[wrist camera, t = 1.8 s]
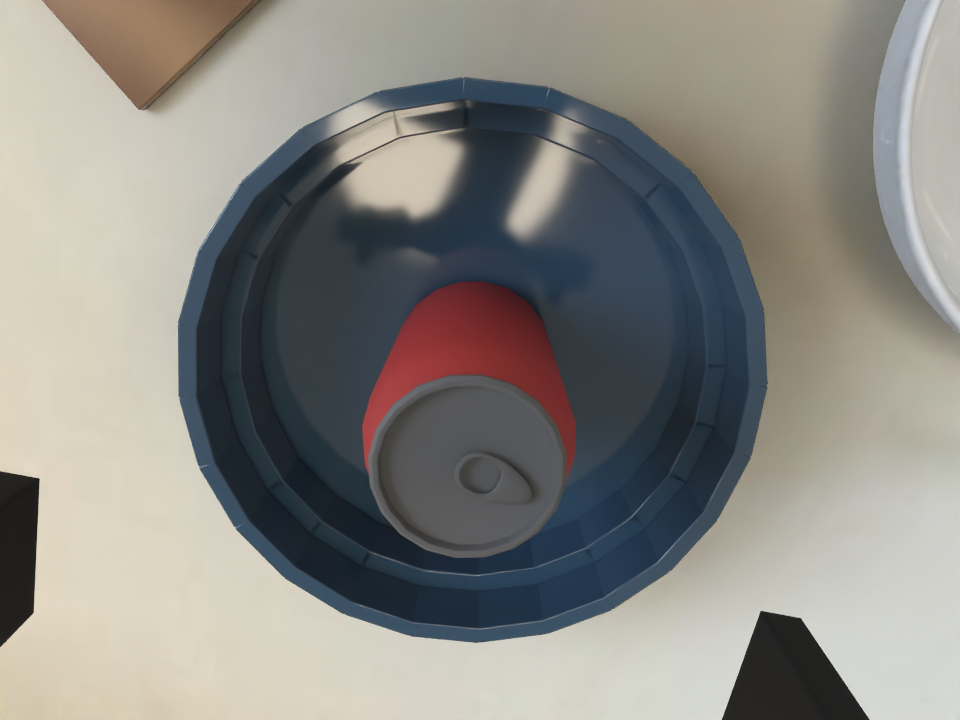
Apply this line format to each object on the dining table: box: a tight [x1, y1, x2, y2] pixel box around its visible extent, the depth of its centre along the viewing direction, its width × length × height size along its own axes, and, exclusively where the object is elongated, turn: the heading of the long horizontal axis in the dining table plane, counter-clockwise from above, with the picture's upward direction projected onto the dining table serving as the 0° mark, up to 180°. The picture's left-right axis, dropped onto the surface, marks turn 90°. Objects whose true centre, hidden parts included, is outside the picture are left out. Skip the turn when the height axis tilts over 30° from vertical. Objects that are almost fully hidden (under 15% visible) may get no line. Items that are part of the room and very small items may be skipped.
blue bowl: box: [178, 77, 768, 643], centre depth 30 cm, size 21×21×6 cm
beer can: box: [362, 281, 576, 558], centre depth 26 cm, size 7×7×12 cm
